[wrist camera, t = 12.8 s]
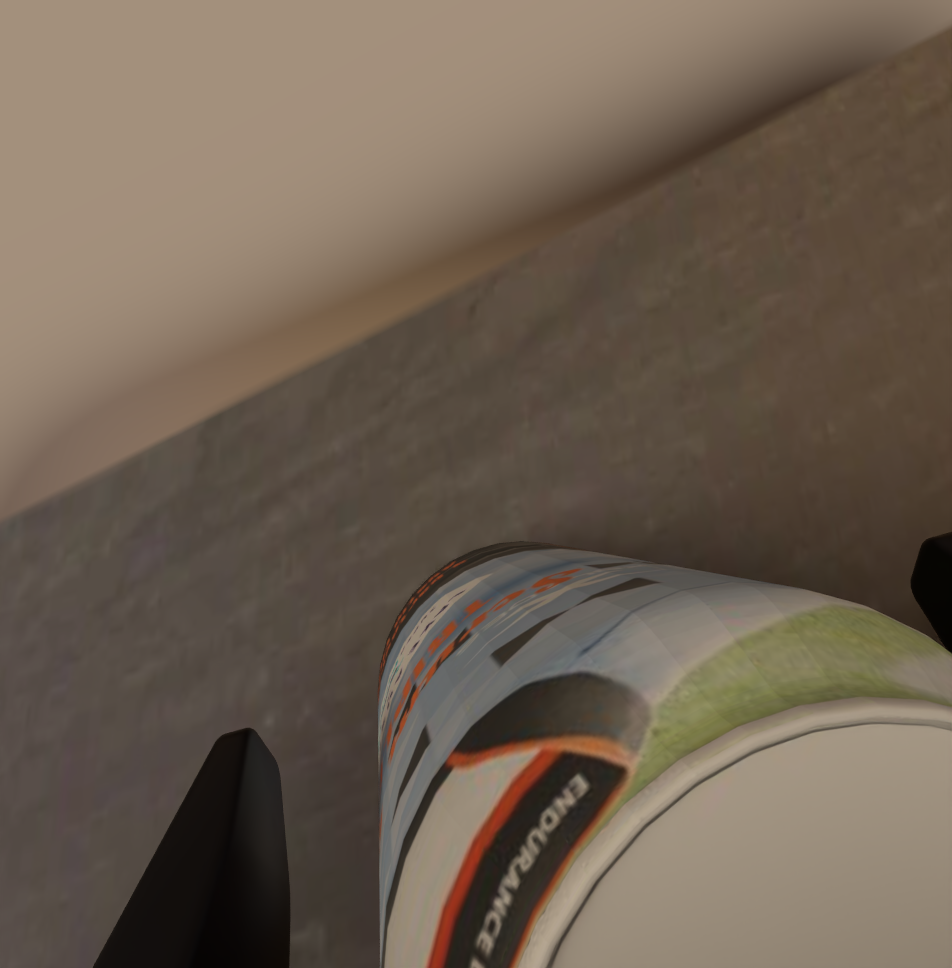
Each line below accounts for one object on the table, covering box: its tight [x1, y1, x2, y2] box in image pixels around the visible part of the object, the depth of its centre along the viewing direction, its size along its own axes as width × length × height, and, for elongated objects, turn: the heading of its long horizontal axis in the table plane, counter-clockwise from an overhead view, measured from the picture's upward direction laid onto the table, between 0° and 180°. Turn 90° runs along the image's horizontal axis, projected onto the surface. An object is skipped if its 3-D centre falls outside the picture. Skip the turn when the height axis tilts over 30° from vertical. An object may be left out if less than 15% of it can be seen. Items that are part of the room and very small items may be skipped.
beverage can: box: [378, 541, 952, 968], centre depth 10 cm, size 6×7×12 cm
